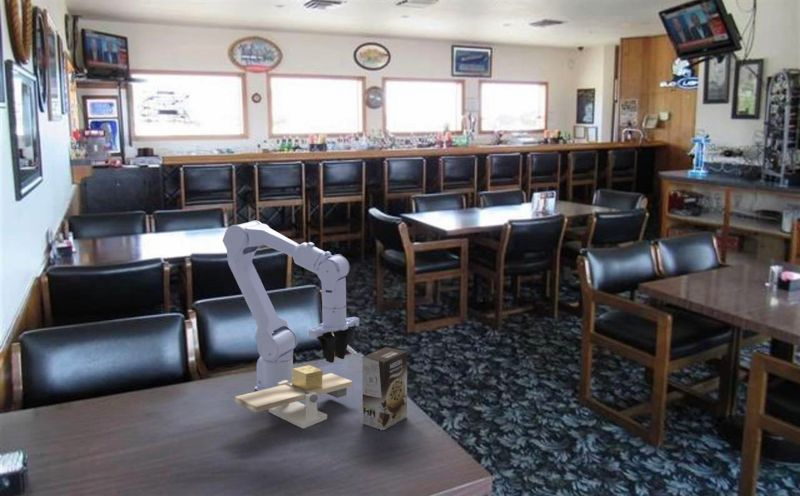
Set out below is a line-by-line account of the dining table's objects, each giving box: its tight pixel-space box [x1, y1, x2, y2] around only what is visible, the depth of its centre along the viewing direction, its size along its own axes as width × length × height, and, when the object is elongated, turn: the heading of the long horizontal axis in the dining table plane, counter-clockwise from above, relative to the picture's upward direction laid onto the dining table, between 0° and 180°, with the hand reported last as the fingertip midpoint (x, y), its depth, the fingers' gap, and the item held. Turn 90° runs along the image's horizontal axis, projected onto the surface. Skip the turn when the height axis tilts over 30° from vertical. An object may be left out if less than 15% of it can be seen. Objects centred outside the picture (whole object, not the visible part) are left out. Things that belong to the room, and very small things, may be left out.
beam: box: [234, 372, 354, 413], centre depth 152 cm, size 8×28×4 cm, turn 137°
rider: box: [292, 364, 324, 391], centre depth 154 cm, size 5×5×4 cm
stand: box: [268, 380, 328, 429], centre depth 152 cm, size 13×7×7 cm, turn 47°
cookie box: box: [362, 346, 408, 431], centre depth 149 cm, size 9×6×16 cm
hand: (335, 359), depth 160 cm, fingers open, 3 cm apart
